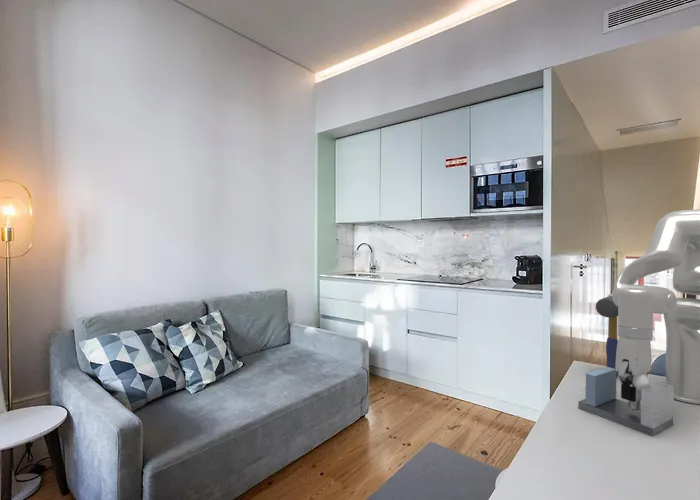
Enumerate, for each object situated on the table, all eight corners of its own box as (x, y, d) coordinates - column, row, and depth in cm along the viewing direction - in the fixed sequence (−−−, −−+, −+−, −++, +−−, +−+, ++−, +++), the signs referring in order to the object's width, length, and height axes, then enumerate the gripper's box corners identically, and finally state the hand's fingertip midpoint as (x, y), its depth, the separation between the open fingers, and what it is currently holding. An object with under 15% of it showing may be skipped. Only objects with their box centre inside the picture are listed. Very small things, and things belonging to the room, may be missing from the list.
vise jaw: (606, 395, 110) (607, 366, 110) (616, 398, 108) (616, 369, 107) (585, 403, 104) (585, 373, 104) (594, 406, 102) (595, 376, 102)
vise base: (599, 399, 111) (600, 364, 111) (673, 425, 96) (673, 384, 96) (578, 408, 106) (578, 371, 106) (652, 436, 90) (653, 393, 90)
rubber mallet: (617, 384, 124) (618, 298, 124) (593, 377, 130) (593, 296, 130) (630, 377, 131) (631, 296, 131) (607, 371, 137) (607, 293, 137)
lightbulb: (642, 417, 94) (642, 375, 94) (615, 407, 100) (615, 368, 100) (653, 411, 97) (654, 371, 97) (627, 402, 103) (627, 365, 103)
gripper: (634, 326, 106) (633, 386, 106) (603, 333, 97) (603, 398, 98) (665, 331, 99) (665, 395, 99) (636, 339, 91) (635, 409, 91)
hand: (634, 396), depth 99 cm, fingers closed on lightbulb, 6 cm apart
